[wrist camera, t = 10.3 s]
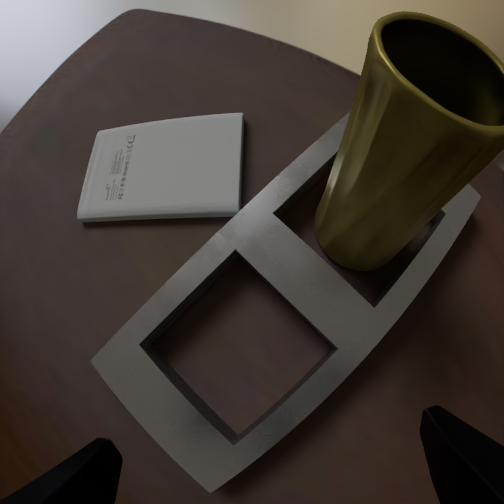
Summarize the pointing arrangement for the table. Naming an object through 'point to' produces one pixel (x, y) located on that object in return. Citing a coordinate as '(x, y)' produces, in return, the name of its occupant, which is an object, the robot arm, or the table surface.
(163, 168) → the external hard drive
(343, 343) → the grey flat frame
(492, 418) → the table surface
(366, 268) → the vase
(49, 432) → the table surface
